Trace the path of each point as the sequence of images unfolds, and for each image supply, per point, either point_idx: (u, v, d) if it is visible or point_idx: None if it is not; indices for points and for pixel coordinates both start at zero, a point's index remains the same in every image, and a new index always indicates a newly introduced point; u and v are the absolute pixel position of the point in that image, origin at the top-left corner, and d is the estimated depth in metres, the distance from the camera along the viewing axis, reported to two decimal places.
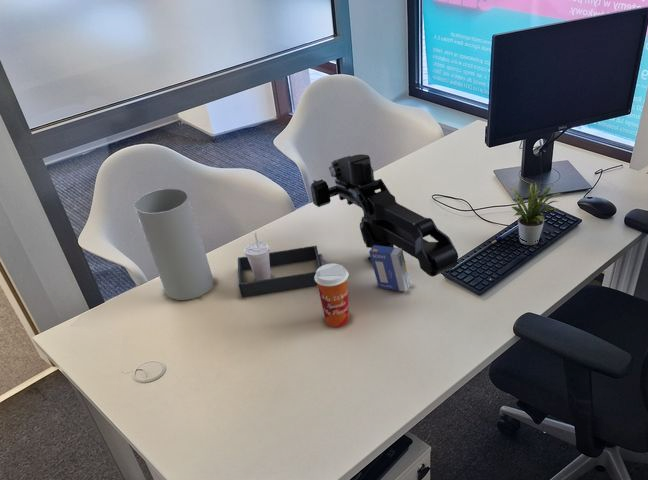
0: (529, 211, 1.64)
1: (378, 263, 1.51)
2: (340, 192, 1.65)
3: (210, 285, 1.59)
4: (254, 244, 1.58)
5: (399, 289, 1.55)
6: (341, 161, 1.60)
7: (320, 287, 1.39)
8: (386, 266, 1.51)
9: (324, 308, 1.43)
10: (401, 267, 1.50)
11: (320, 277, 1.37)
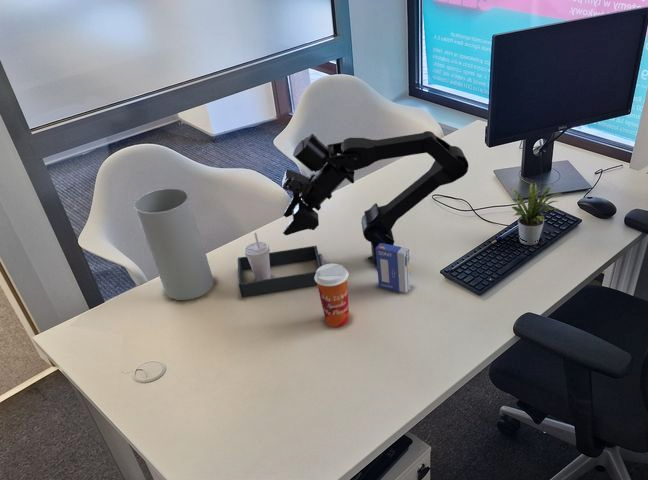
0: (529, 211, 1.64)
1: (382, 261, 1.52)
2: (314, 200, 1.50)
3: (210, 285, 1.59)
4: (254, 244, 1.58)
5: (399, 290, 1.55)
6: (288, 175, 1.47)
7: (320, 287, 1.39)
8: (390, 265, 1.51)
9: (324, 308, 1.43)
10: (405, 267, 1.51)
11: (320, 277, 1.37)
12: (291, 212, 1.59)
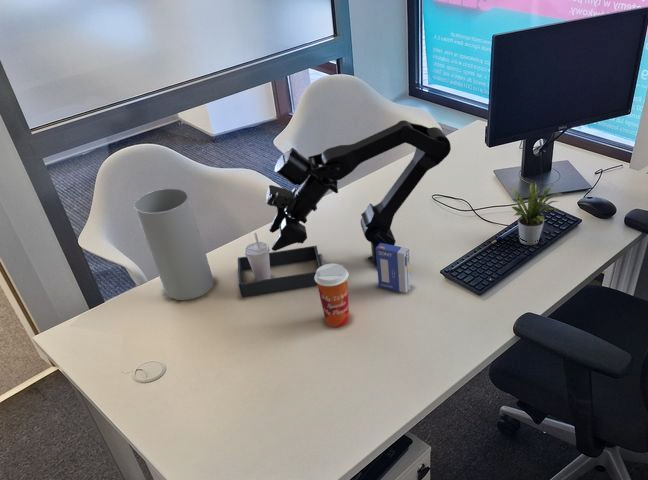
0: (529, 211, 1.64)
1: (382, 261, 1.52)
2: (300, 213, 1.50)
3: (210, 285, 1.59)
4: (254, 244, 1.58)
5: (399, 290, 1.55)
6: (272, 191, 1.46)
7: (320, 287, 1.39)
8: (390, 265, 1.51)
9: (324, 308, 1.43)
10: (405, 267, 1.51)
11: (320, 277, 1.37)
12: (277, 227, 1.59)
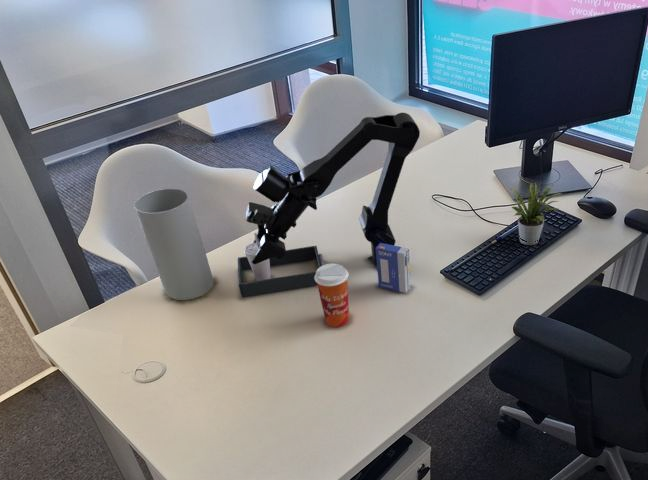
0: (529, 211, 1.64)
1: (382, 261, 1.52)
2: (279, 230, 1.51)
3: (210, 285, 1.59)
4: (254, 244, 1.58)
5: (399, 290, 1.55)
6: (251, 208, 1.48)
7: (320, 287, 1.39)
8: (390, 265, 1.51)
9: (324, 308, 1.43)
10: (405, 267, 1.51)
11: (320, 277, 1.37)
12: None
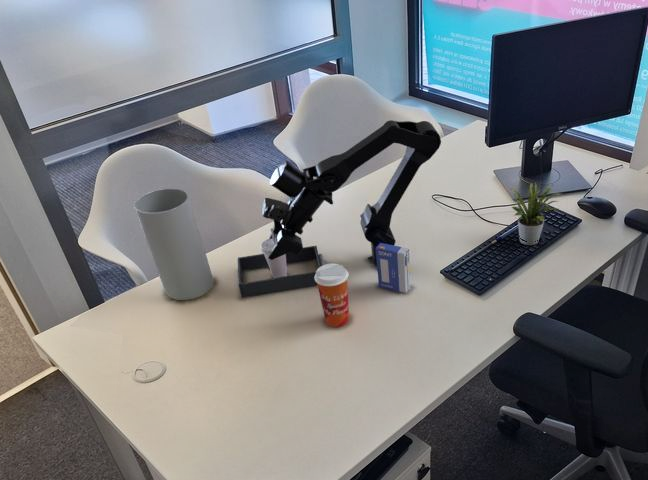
0: (529, 211, 1.64)
1: (382, 261, 1.52)
2: (296, 225, 1.51)
3: (210, 285, 1.59)
4: (270, 240, 1.58)
5: (399, 290, 1.55)
6: (268, 204, 1.48)
7: (320, 287, 1.39)
8: (390, 265, 1.51)
9: (324, 308, 1.43)
10: (405, 267, 1.51)
11: (320, 277, 1.37)
12: None
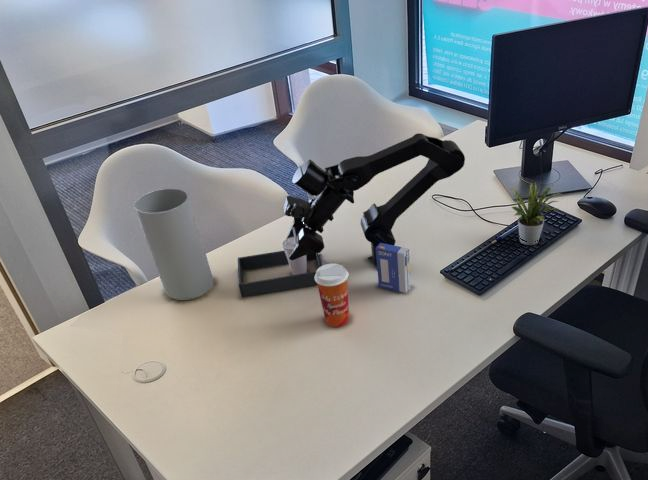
0: (529, 211, 1.64)
1: (382, 261, 1.52)
2: (317, 223, 1.52)
3: (210, 285, 1.59)
4: (291, 238, 1.59)
5: (399, 290, 1.55)
6: (290, 202, 1.49)
7: (320, 287, 1.39)
8: (390, 265, 1.51)
9: (324, 308, 1.43)
10: (405, 267, 1.51)
11: (320, 277, 1.37)
12: None
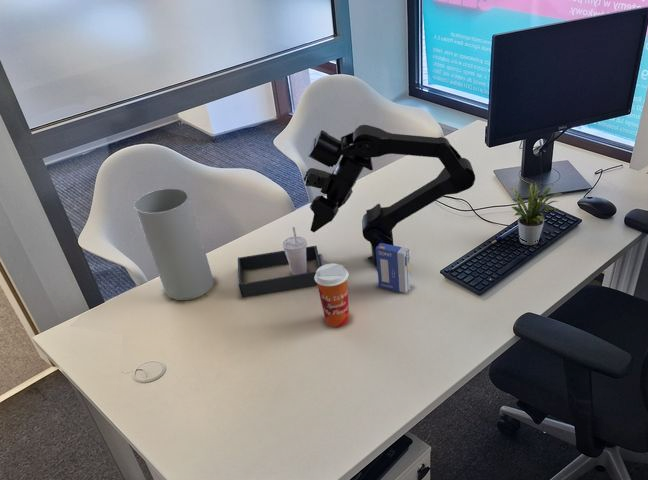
0: (529, 211, 1.64)
1: (382, 261, 1.52)
2: (335, 193, 1.50)
3: (210, 285, 1.59)
4: (291, 238, 1.59)
5: (399, 290, 1.55)
6: (309, 172, 1.50)
7: (320, 287, 1.39)
8: (390, 265, 1.51)
9: (324, 308, 1.43)
10: (405, 267, 1.51)
11: (320, 277, 1.37)
12: None
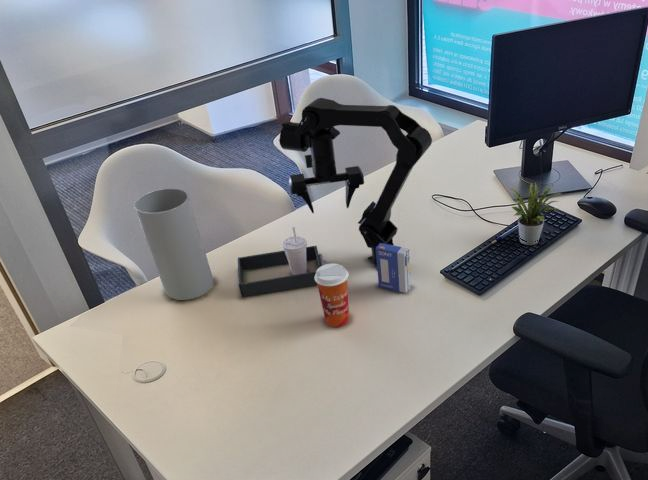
0: (529, 211, 1.64)
1: (382, 261, 1.52)
2: (313, 171, 1.55)
3: (210, 285, 1.59)
4: (291, 238, 1.59)
5: (399, 290, 1.55)
6: None
7: (320, 287, 1.39)
8: (390, 265, 1.51)
9: (324, 308, 1.43)
10: (405, 267, 1.51)
11: (320, 277, 1.37)
12: (347, 202, 1.62)
